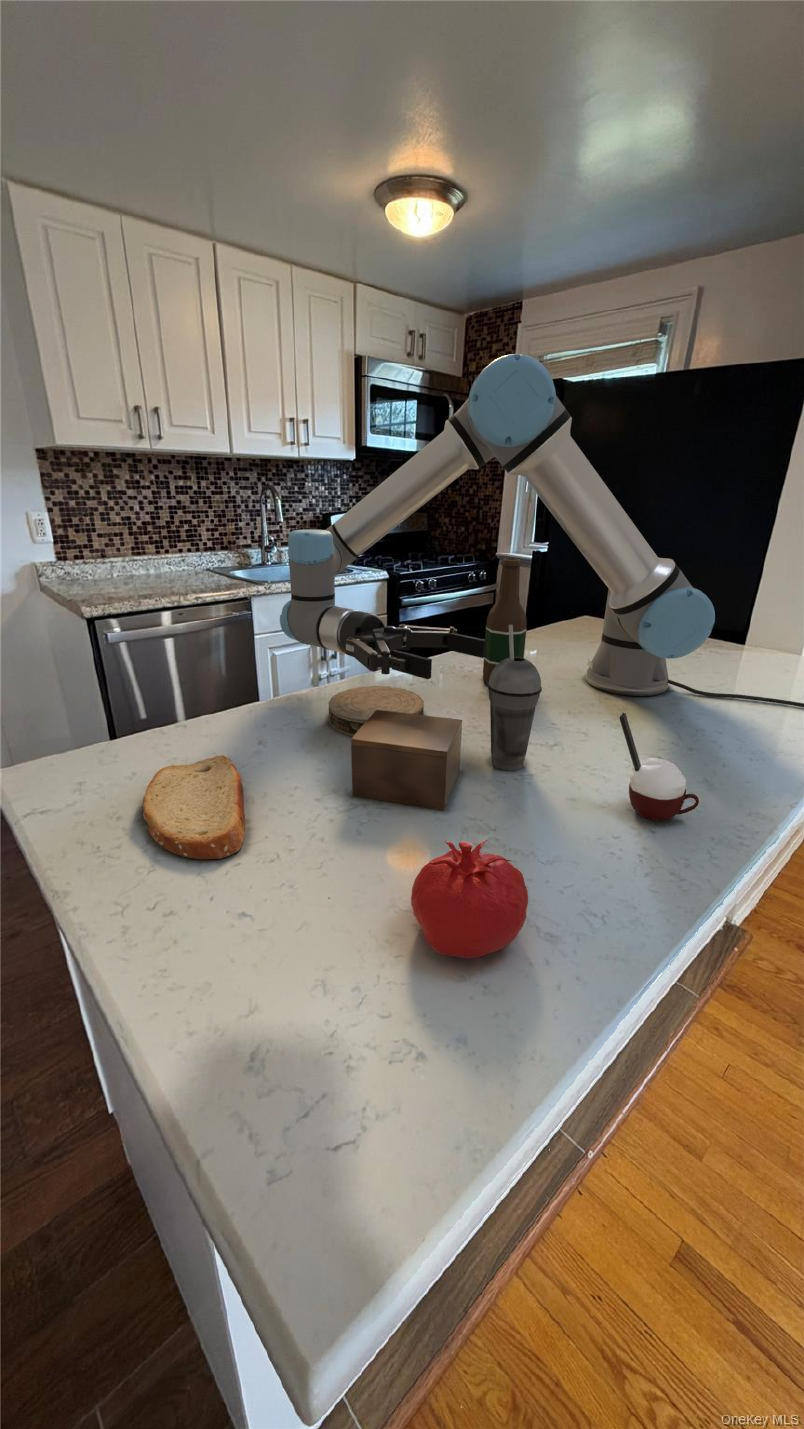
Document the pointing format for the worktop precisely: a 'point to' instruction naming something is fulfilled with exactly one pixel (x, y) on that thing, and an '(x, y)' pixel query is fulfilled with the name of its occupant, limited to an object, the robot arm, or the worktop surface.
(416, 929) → the worktop surface
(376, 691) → the tan flat ringed disc
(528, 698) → the beverage cup
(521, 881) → the pomegranate
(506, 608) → the beer bottle
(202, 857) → the bread slice
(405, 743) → the riser
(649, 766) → the cocoa
